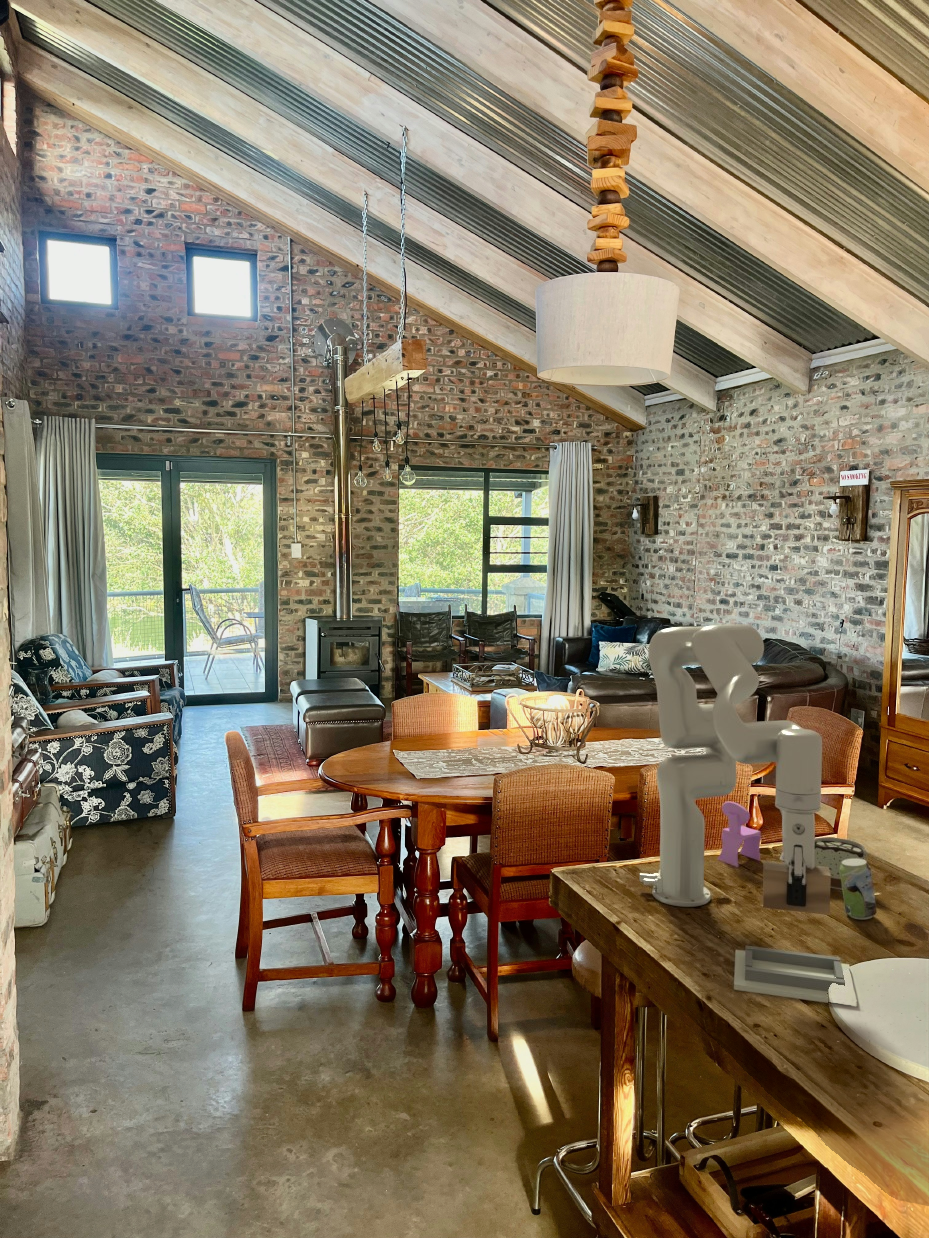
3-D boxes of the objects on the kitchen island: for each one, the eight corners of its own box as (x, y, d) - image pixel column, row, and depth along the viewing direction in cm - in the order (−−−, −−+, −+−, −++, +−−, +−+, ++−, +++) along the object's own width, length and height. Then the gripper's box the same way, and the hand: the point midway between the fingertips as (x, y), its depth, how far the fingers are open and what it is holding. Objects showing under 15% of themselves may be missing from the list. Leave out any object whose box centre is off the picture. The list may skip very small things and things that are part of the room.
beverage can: (879, 923, 185) (881, 867, 184) (841, 920, 187) (843, 864, 186) (872, 911, 191) (874, 856, 190) (835, 908, 193) (837, 854, 192)
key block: (829, 914, 157) (830, 875, 156) (763, 907, 160) (763, 869, 160) (827, 905, 161) (828, 867, 161) (762, 898, 165) (763, 860, 164)
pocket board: (733, 989, 158) (734, 973, 158) (735, 954, 172) (735, 939, 171) (857, 1006, 152) (857, 989, 152) (848, 969, 166) (849, 953, 165)
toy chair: (765, 861, 222) (766, 801, 221) (741, 868, 217) (742, 807, 216) (738, 851, 229) (739, 793, 228) (714, 858, 224) (715, 799, 223)
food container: (870, 885, 206) (871, 842, 205) (866, 894, 201) (867, 850, 200) (813, 874, 213) (814, 833, 212) (808, 883, 208) (809, 840, 207)
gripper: (824, 814, 150) (821, 921, 151) (817, 788, 166) (814, 885, 168) (776, 810, 152) (774, 915, 154) (774, 785, 168) (772, 880, 170)
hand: (795, 898), depth 161 cm, fingers closed on key block, 4 cm apart
